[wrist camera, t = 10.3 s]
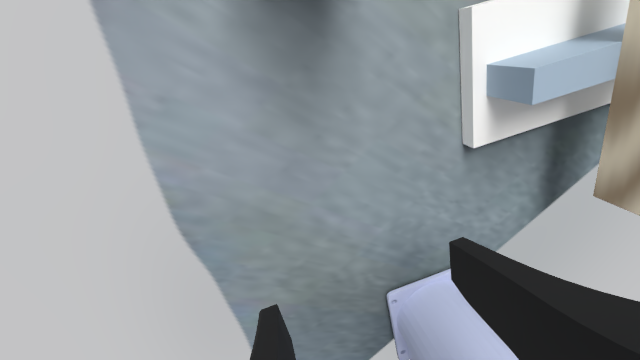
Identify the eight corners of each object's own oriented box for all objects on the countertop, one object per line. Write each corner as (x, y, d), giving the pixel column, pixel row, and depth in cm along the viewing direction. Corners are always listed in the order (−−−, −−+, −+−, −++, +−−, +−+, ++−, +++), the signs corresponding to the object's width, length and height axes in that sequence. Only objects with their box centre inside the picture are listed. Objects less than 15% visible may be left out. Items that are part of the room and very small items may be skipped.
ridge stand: (641, 85, 25) (724, 93, 21) (462, 143, 23) (513, 166, 19) (671, -49, 21) (782, -73, 17) (458, 8, 19) (522, -2, 15)
